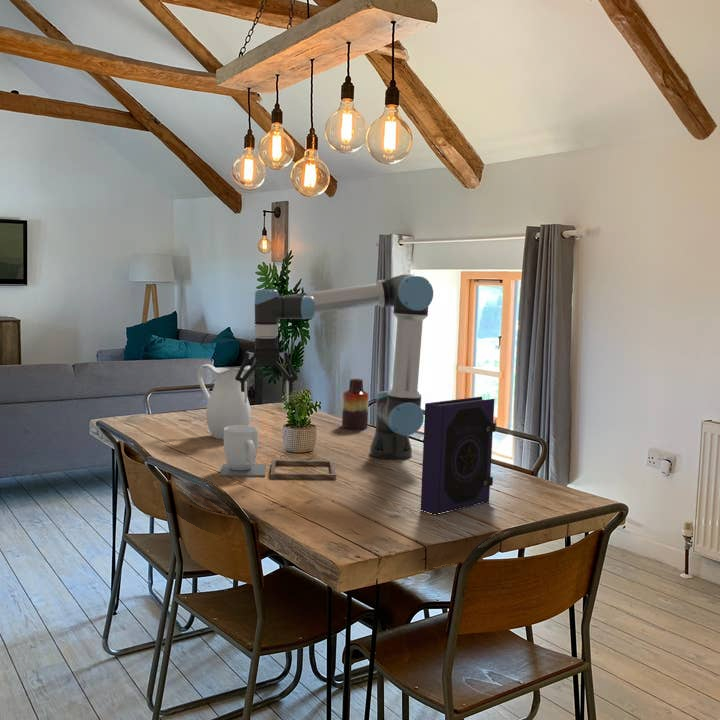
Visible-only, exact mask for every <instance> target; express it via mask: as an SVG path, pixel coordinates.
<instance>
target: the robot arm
mask: <svg viewBox="0 0 720 720" xmlns="http://www.w3.org/2000/svg"><path fill="white" fill-rule="evenodd" d="M433 299H434V289H433V286H432V284H431V282H430V280H428V279H427V278H426V277H424V276H423V275H420V274H415V273H413V274H411V273H410V274H401V275H397V276H394V277H390V278H385V279H378V280H376V282H375V283H369V284H362V285H353V286H347V287H340V288H332V289H325V290H317V291H310V292H302V293H294V294H293V293H289V294H286V295H279V290H277V289H257V290H256V291H255V293H254V304H253V305H254V336H255V337H256V338H254V352H250V351H246V352H245V356H244V359H243V362H242V364H241V366H240V367H239V368H240V369H239V371H238V373H237V375H236V378H235V380H237V381H240V382H241V392H245V403H247V397H248V381H247V379H248V378H249V377H250V376H251V375H252V374H253V372H254V371H255V370H256V369H257V368H258V366H259V365H260V366H262V367H265V366H269V367H272V366H275V367H276V368H277V369H278V371H279V372H280V373H281V374H282V376H283V377H285V378H286V382H285V383H286V384H285V385H286V389H285V390H286V393H285V394H286V397H285V398H286V399H285V400H286V403H289V402H290V398H289V397H290V392H293V383H294V382H295V381H298V379H299V378H298V375H297V373H296V371H295V369H294V367H293V365H292V363H291V361H290V359H289V354H288V352H287V351H284V352H279V338H278V336H279V320H283V319H284V320H287V319H289V320H293V319H294V320H307V319H308V320H309V319H314V317H315V314H321V313H328V312H335V311H344V310H351V309H357V308H358V309H359V308H366V307H373V306H374V307H375V306H379V307H380V308H387V307H393V311H392V313H393V315H394V317H396V319H397V321H396V322H397V323H396V333H395V334H396V335H395V336H396V337H395V344H394V345H395V349H394V361H393V363H394V364H393V372H392V373H393V374H392V386H391V387H392V388H391V390H389V391H379V392H378V393H377V394H376V401H375V402H376V403H375V404H376V405H375V407H376V408H375V431H374V432H375V433H374V436H373V438H372V442H371V444H370V447H369V455H371V456H373V457H375V458H381V459H386V460H400V459H401V460H402V459H407V458H411V457H412V454H413V448H412V445H411V441H410V438H409V437H410V436H412V435H413V434H415V433H417V432H418V431H419V430H420V429H421V427H422V426H423V425H424V420H425V414H424V411H423V409H422V408H421V406H422V405H421V404H422V394H421V393H420V392H419V391H418V388H419V377H420V375H419V374H420V361H421V348H422V336H423V322H424V320H425V319H426V318H427V317H428V316H429V314H428V313H429V306H430V305H431V303H432V301H433ZM252 357H253V358H254V359H255V361H254V363H253V364H252V365H251V366H250V369H249V370H248V371H246V372H245V374H244V375H243V377H240V376H241V374H242V372H243V370H244V368H245V367H246V366H247V364H248V361H249V360H251V359H252ZM280 357H281V358H282V359H283V360H284V361H285V364H286V366H287V367H288V369H289V371H290V374H291V375H290V374H289V373H288V372H287V370H285V368H284V367H283V366H282V365H281V364H280V363H279V361H278V359H279V358H280Z"/></svg>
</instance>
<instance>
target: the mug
mask: <svg viewBox="0 0 720 720" xmlns="http://www.w3.org/2000/svg"><path fill="white" fill-rule="evenodd" d="M258 449H259V428H258V427H257V426H252V425H249V426H245V425H236V426H228V427H225V428H224V440H223V451H224V452H223V454H224V458H225V461H226V464H228V466H229V467H230V469H232V470H238V471H243V470H249V469H250V468H251V467H252V466H253V464H255V463H256V458H257V455H258Z"/></svg>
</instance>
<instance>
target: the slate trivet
mask: <svg viewBox="0 0 720 720" xmlns="http://www.w3.org/2000/svg"><path fill="white" fill-rule="evenodd" d="M266 472H267V463H254V464H253V466H252V467H251V468H250V469H249V470H243V471H238V470H232V469H230V467H229V466H228V464H227V463H223V465H222V468H221V470H220V473H219V477H248V478H249V477H250V478H251V477H253V478H256V477H259V478H264V477H266Z"/></svg>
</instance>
